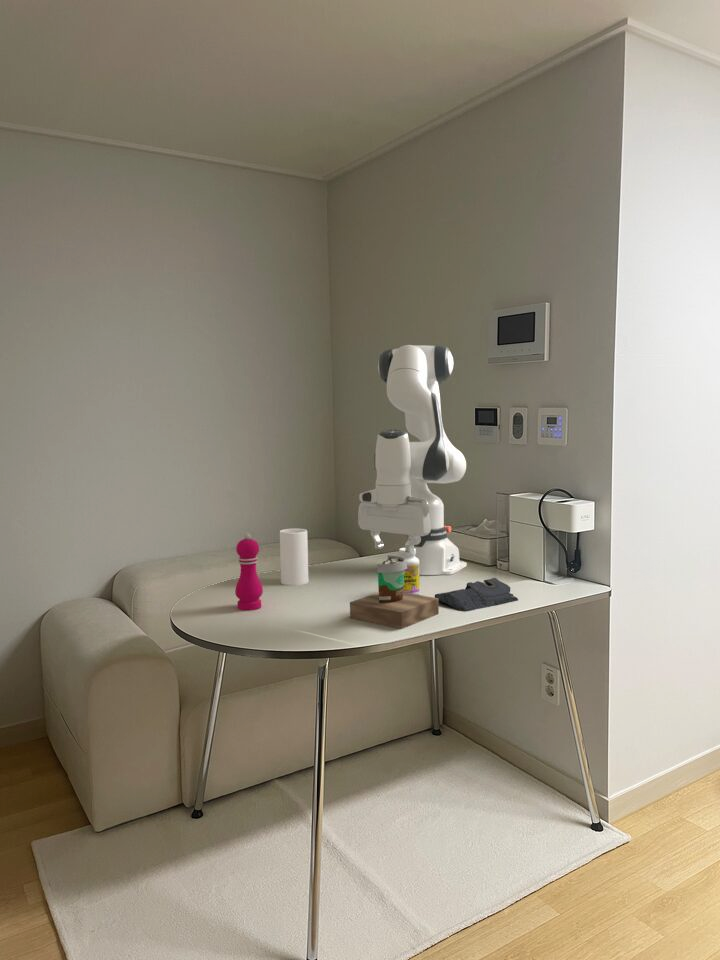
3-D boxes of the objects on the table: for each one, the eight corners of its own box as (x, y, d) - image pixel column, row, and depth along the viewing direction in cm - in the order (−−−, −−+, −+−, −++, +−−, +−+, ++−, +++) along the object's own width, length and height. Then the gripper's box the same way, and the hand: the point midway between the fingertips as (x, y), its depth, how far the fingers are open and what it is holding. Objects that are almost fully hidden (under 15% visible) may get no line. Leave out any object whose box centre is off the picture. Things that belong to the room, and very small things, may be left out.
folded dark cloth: (425, 602, 210) (425, 585, 209) (484, 590, 222) (484, 573, 222) (464, 614, 197) (464, 596, 197) (524, 600, 210) (524, 583, 209)
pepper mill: (232, 610, 202) (229, 535, 200) (240, 603, 209) (238, 530, 207) (259, 611, 201) (256, 535, 199) (266, 604, 208) (264, 531, 206)
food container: (401, 605, 190) (401, 565, 188) (377, 604, 191) (377, 564, 190) (411, 593, 201) (411, 555, 200) (388, 592, 203) (388, 554, 202)
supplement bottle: (395, 596, 214) (394, 551, 213) (396, 591, 220) (395, 546, 219) (419, 597, 213) (419, 551, 212) (419, 591, 220) (419, 546, 219)
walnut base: (388, 604, 206) (387, 589, 206) (438, 613, 196) (438, 598, 196) (350, 617, 194) (349, 602, 194) (402, 628, 184) (401, 612, 184)
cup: (309, 580, 236) (308, 528, 234) (307, 586, 228) (306, 532, 226) (282, 580, 236) (281, 528, 234) (279, 586, 228) (278, 533, 226)
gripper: (435, 496, 188) (435, 552, 189) (369, 491, 201) (370, 544, 202) (421, 499, 183) (421, 557, 185) (354, 494, 196) (354, 547, 197)
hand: (394, 550), depth 193 cm, fingers open, 8 cm apart
